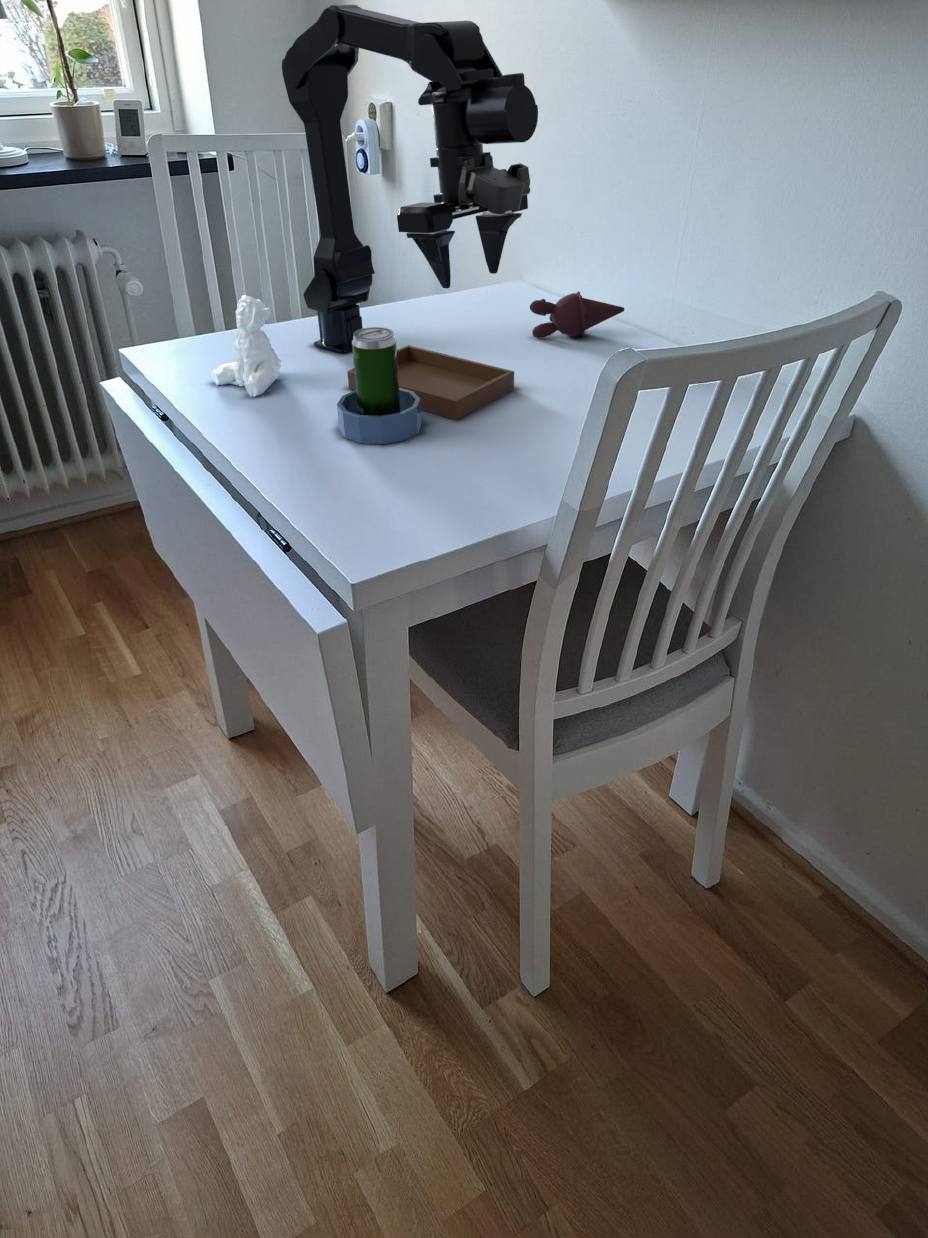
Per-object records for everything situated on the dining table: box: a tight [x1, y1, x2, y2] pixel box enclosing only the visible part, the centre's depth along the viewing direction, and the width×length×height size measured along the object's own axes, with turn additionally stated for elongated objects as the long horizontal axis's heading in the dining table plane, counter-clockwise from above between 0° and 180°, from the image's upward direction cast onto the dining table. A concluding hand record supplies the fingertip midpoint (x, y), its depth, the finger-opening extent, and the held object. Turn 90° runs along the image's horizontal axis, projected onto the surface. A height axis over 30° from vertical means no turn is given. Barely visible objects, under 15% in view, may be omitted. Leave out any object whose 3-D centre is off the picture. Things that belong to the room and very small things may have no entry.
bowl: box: [336, 388, 422, 445], centre depth 110 cm, size 10×10×4 cm
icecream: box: [529, 290, 625, 339], centre depth 138 cm, size 7×7×15 cm
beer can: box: [352, 326, 401, 416], centre depth 108 cm, size 5×5×12 cm
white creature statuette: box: [211, 295, 282, 398], centre depth 121 cm, size 10×9×12 cm
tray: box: [346, 344, 515, 421], centre depth 121 cm, size 19×13×3 cm
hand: (470, 280), depth 114 cm, fingers open, 9 cm apart
